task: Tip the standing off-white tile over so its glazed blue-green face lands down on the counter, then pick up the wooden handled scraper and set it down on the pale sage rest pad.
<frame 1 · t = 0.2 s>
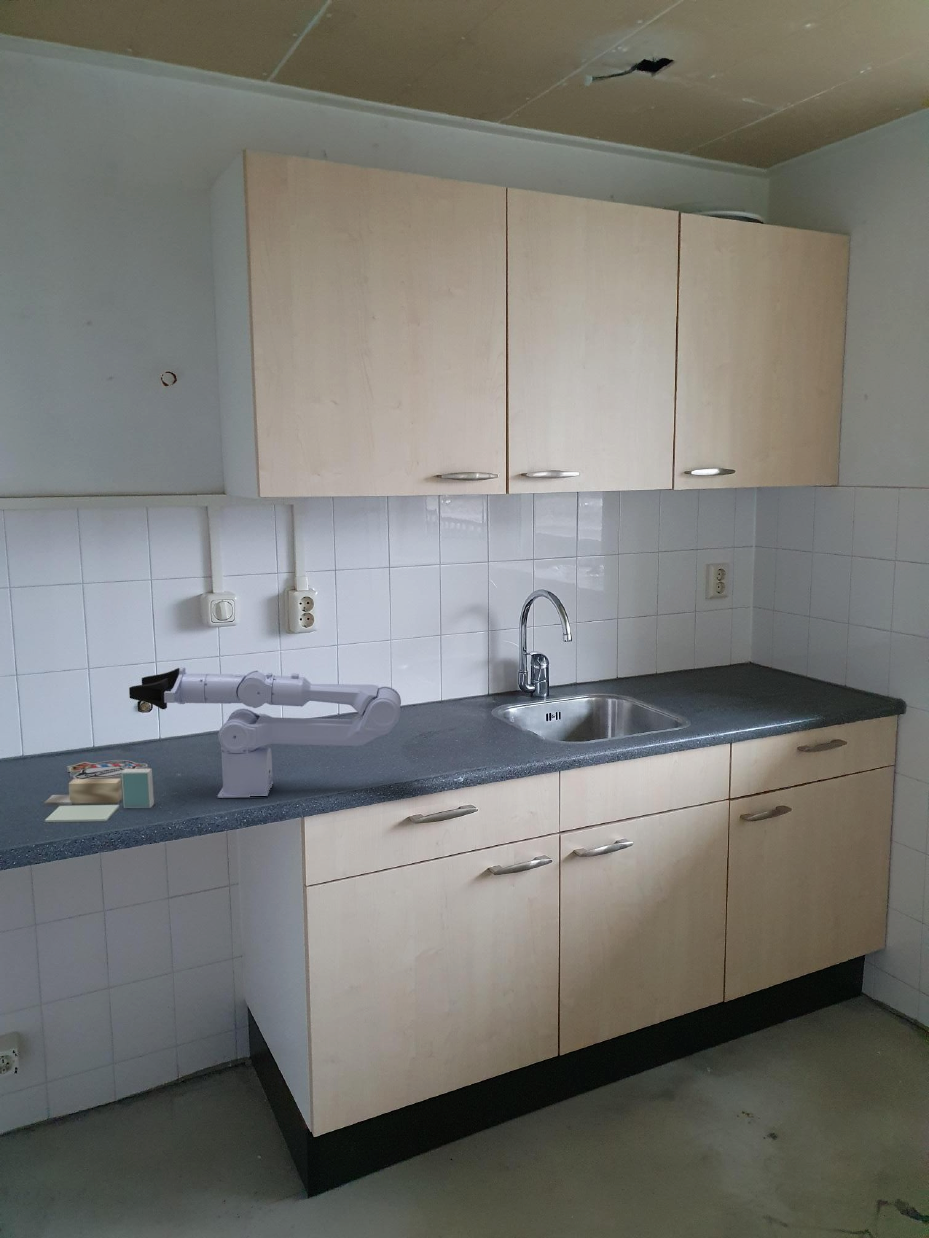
hand: (136, 687, 179), 21 cm above the worktop, tool horizontal, fingers open, 7 cm apart
wooden handled scraper: (96, 800, 179), on the worktop
rest pad: (82, 814, 172), on the worktop
emblem: (108, 776, 194), on the worktop
tile: (138, 805, 176), on the worktop
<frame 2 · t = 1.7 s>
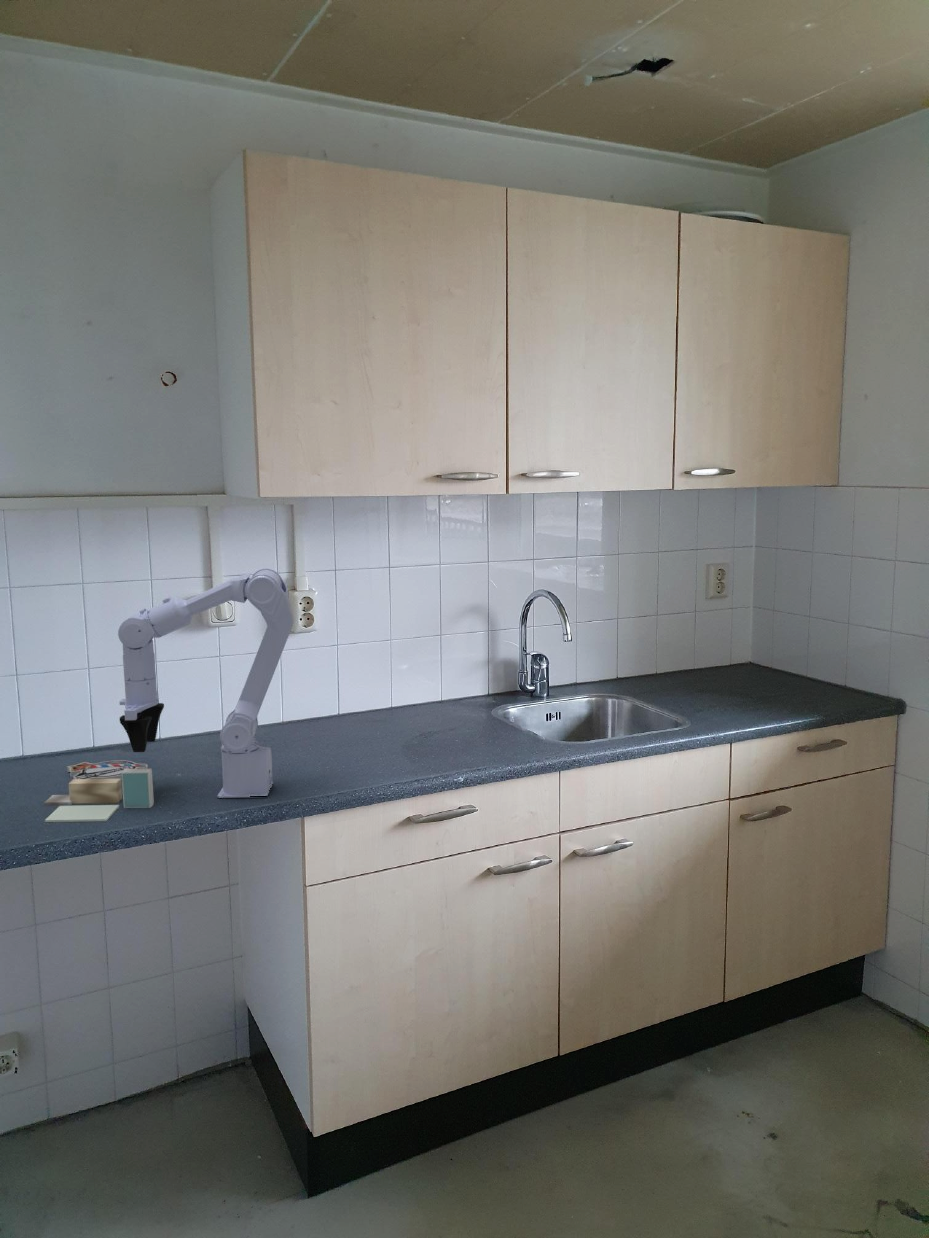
hand: (144, 746, 180), 10 cm above the worktop, tool pointing down, fingers open, 6 cm apart
nothing on the worktop moved.
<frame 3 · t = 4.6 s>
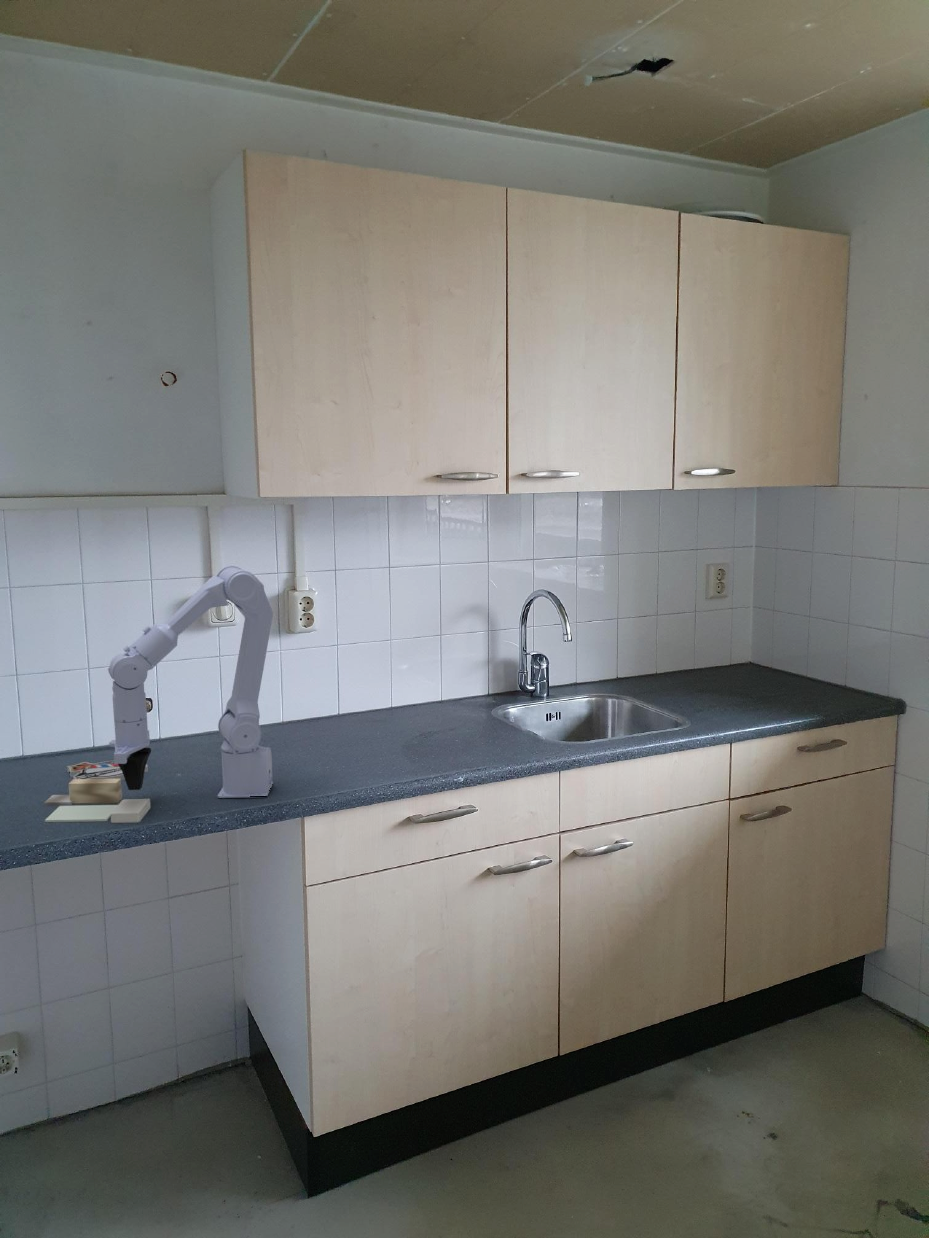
hand: (135, 788, 174), 4 cm above the worktop, tool pointing down, fingers closed
tile: (136, 804, 175), point 1 cm above the worktop, tilted 90°
everything else where it was.
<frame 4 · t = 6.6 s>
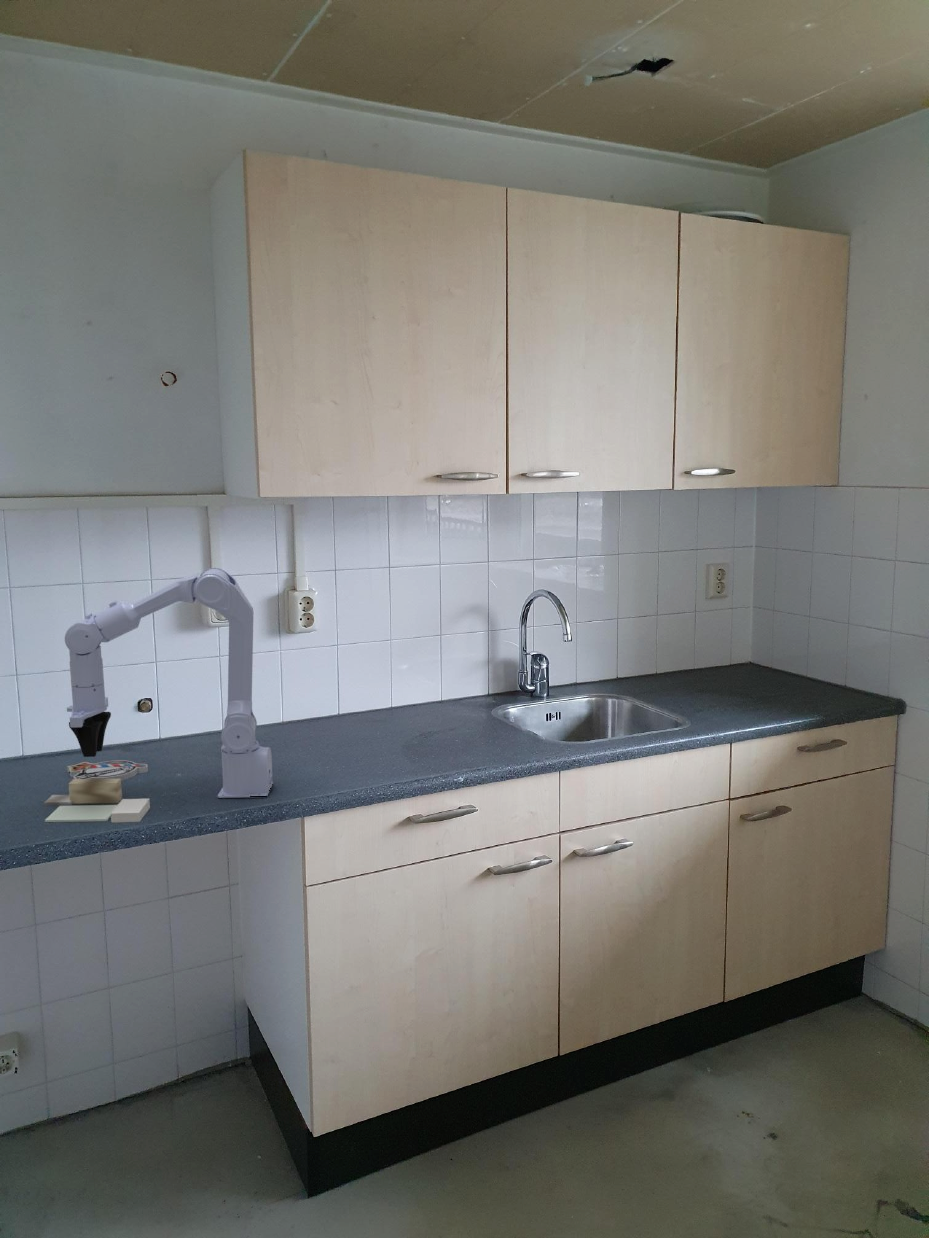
hand: (92, 753, 177), 9 cm above the worktop, tool pointing down, fingers open, 3 cm apart
nothing on the worktop moved.
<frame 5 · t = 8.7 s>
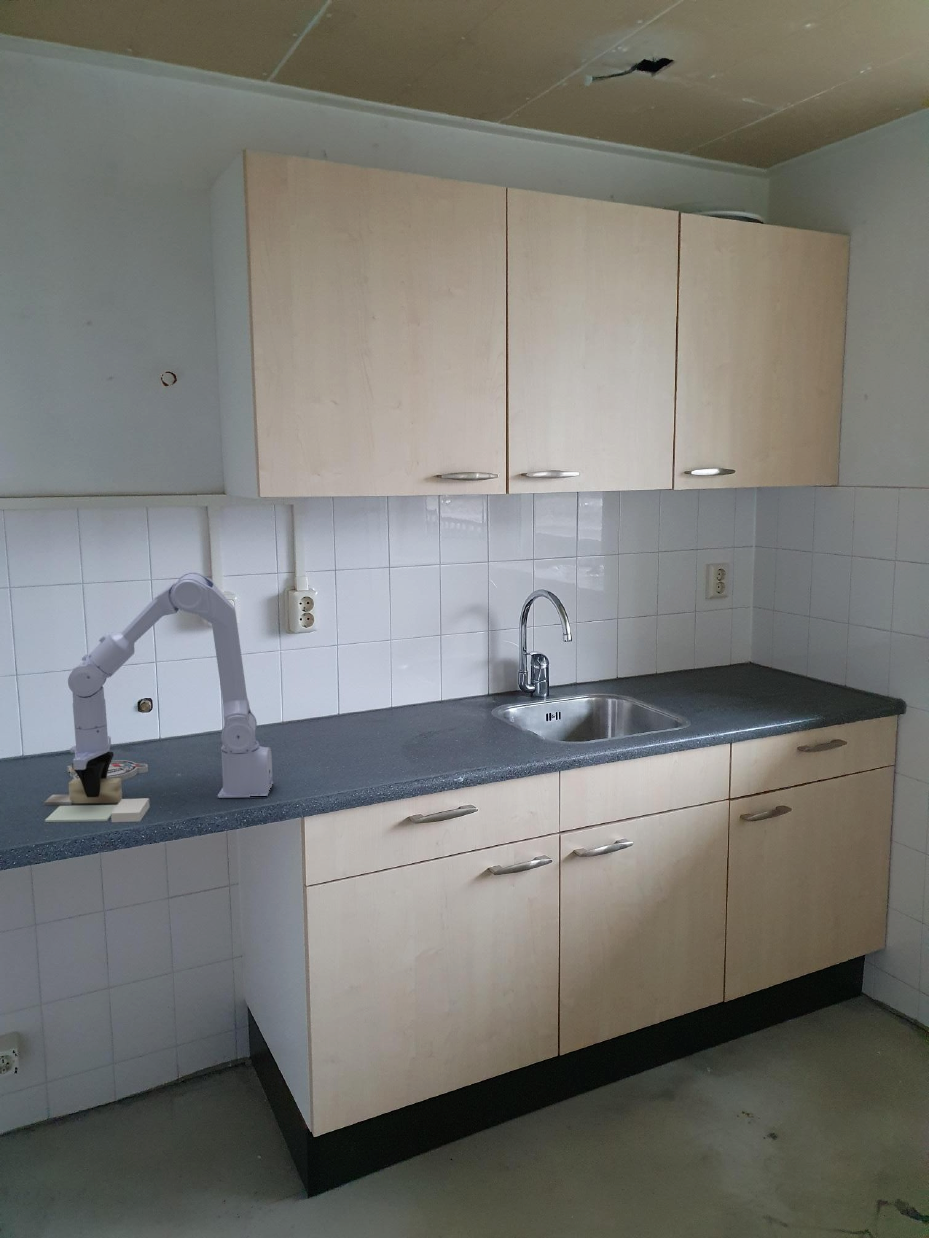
hand: (95, 793, 178), 1 cm above the worktop, tool pointing down, fingers closed on wooden handled scraper, 2 cm apart
wooden handled scraper: (96, 800, 179), on the worktop, touching gripper
everything else where it was.
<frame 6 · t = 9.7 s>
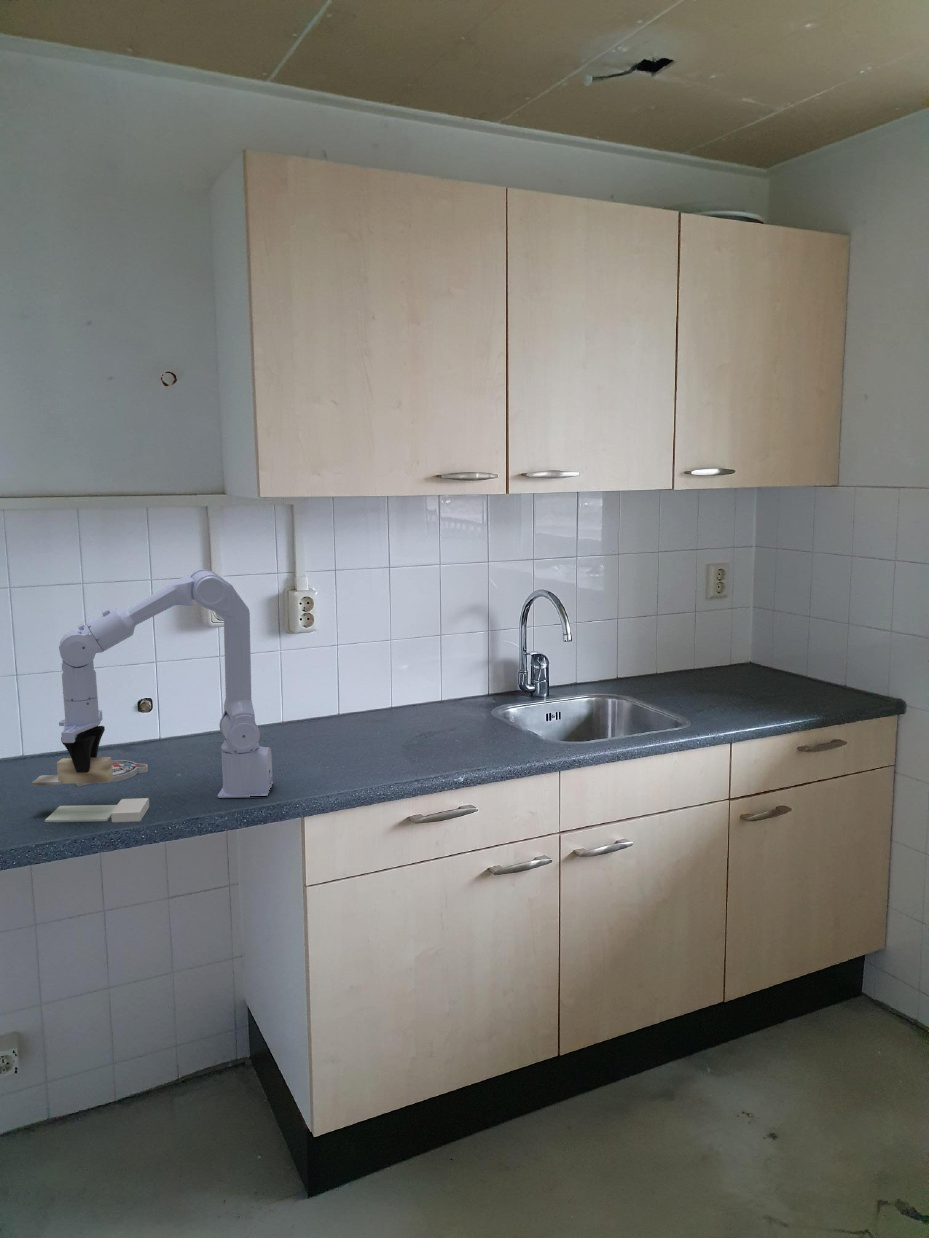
hand: (85, 769, 171), 8 cm above the worktop, tool pointing down, fingers closed on wooden handled scraper, 2 cm apart
wooden handled scraper: (86, 780, 171), point 6 cm above the worktop, touching gripper
everything else where it was.
when the fingers open (3 cm above the worktop, at t = 11.1 s): wooden handled scraper stays where it is, resting on rest pad.
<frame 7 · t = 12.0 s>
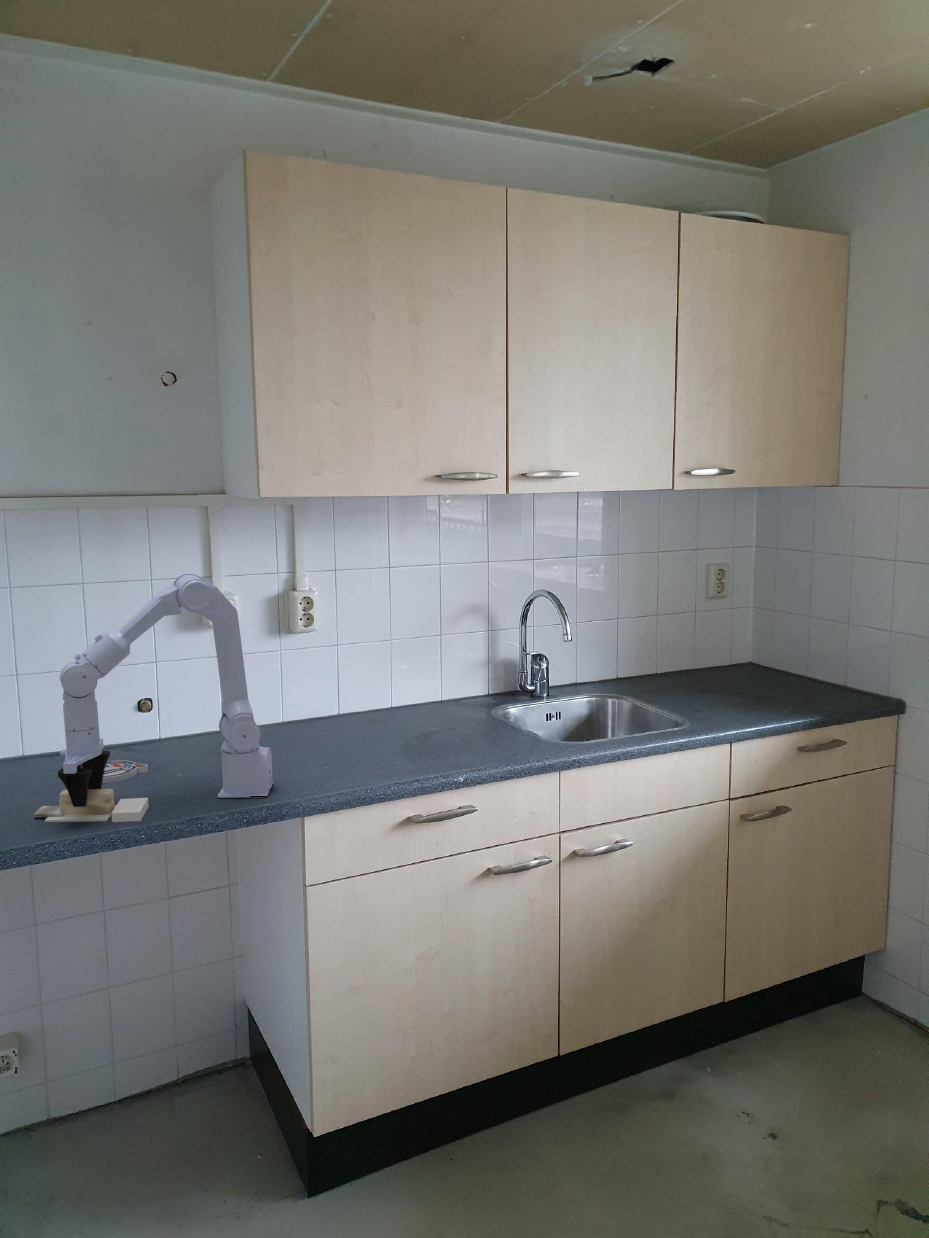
hand: (87, 798, 171), 3 cm above the worktop, tool pointing down, fingers open, 7 cm apart
wooden handled scraper: (87, 812, 172), resting on rest pad
everything else where it was.
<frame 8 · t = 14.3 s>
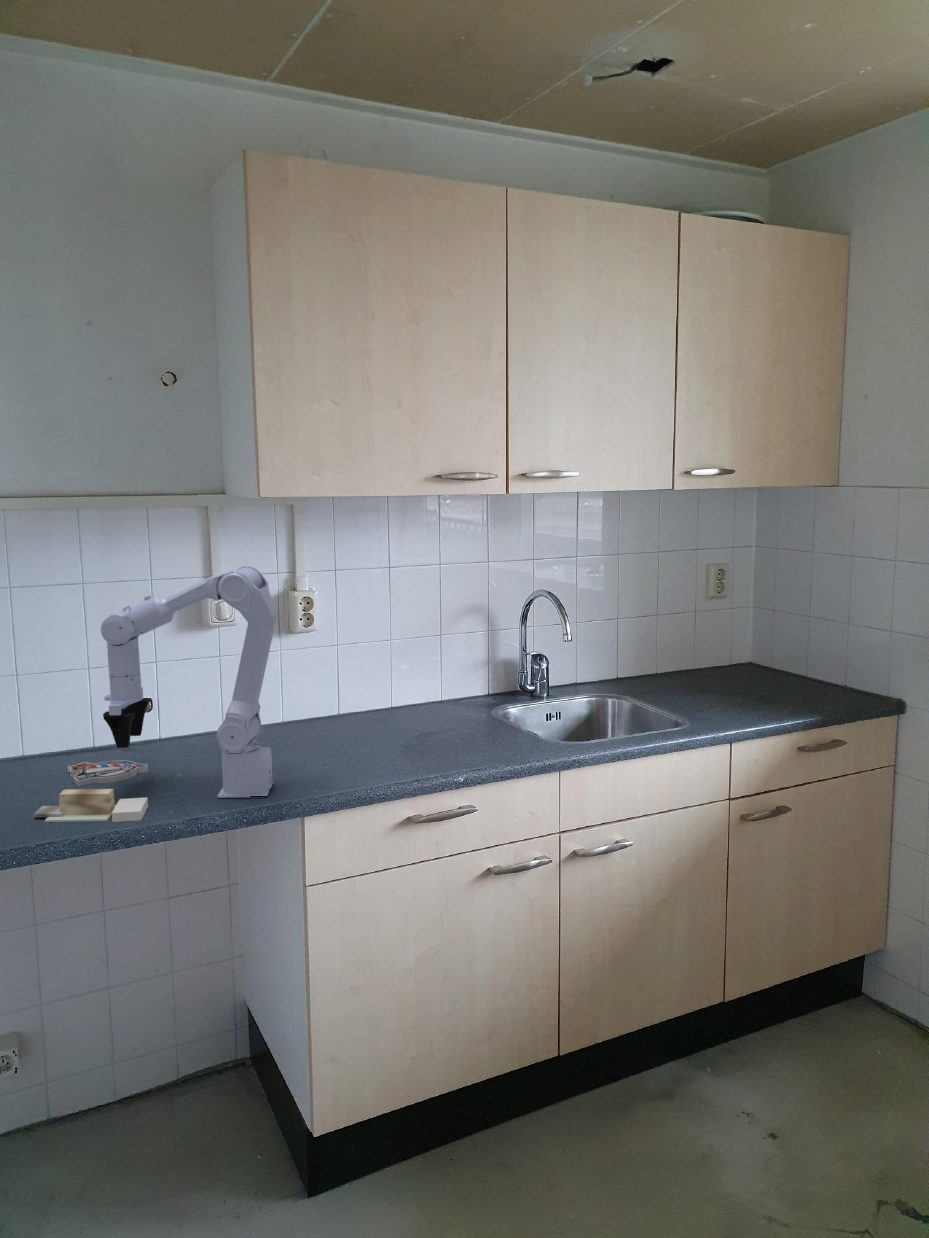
hand: (129, 741, 183), 10 cm above the worktop, tool pointing down, fingers open, 7 cm apart
nothing on the worktop moved.
at the end: tile tilted 90°; wooden handled scraper inside the target area on the rest pad (0.1 cm from its centre), point 0.4 cm above the rest pad's base; the gripper is holding nothing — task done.
